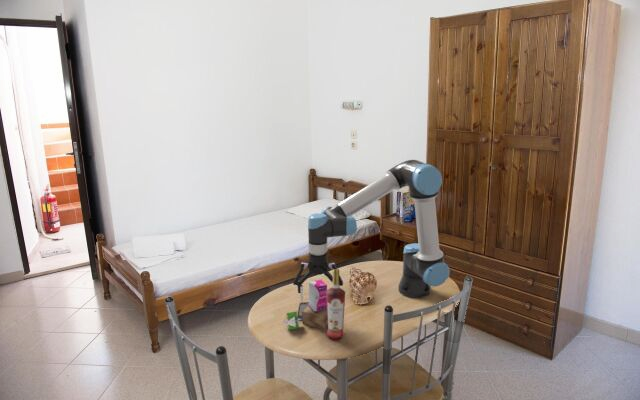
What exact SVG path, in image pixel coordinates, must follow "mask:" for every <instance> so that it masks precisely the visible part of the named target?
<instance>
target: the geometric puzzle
mask: <svg viewBox="0 0 640 400" xmlns="http://www.w3.org/2000/svg"><path fill="white" fill-rule="evenodd" d="M300 322H301V323H302V318H301V317H300V318H299V317H298V312H297V311H292V312H291V311H290V312H287V313H286V315H285V318H284V319H283V323H284V324H285V325H287V328H288V331H290V330H294V329H295V330H296V329H300V325H301V323H300Z"/></svg>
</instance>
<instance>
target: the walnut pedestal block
mask: <svg viewBox="0 0 640 400" xmlns="http://www.w3.org/2000/svg"><path fill="white" fill-rule="evenodd" d="M301 313H302V314H301V315H302V316H301V319H302V320H301V323H302V324H303V325H305V326H310V327H315V328H318V329H322V330H326V328H328V318H327V309H326V310H322V311H318V312H313V311H312V309H311V308H310V307H309V304H308V305H307V306H306V307H305V308H304V309H302V312H301Z"/></svg>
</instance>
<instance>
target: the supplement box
mask: <svg viewBox="0 0 640 400" xmlns="http://www.w3.org/2000/svg"><path fill="white" fill-rule="evenodd" d="M327 290H328V284H327V283H325V282H324V280H322V279H318V280H313V281H309V282H308V305H309V307H310V308H311V309H312V311H313V312H318V311H322V310H326V309H327V301H326V291H327Z"/></svg>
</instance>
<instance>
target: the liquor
mask: <svg viewBox="0 0 640 400" xmlns="http://www.w3.org/2000/svg"><path fill="white" fill-rule="evenodd" d="M331 271H332V272H331V275H332V276H333V282H331V283H332V285H331V287H330V288H329V289H327V291H326V301H327V318H328V326H327V331H326V335H327V337H329V338H330V339H332V340H340V339H341V338H342V337H344V335H345V331H344V322H345V321H344V320H345V319H344V317H345V304H346V302H345V301H346V291H345V290H344V289H343V288H341V287H340V286H339V275H340V269H339V268H336V269H333V270H332V269H331Z"/></svg>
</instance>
